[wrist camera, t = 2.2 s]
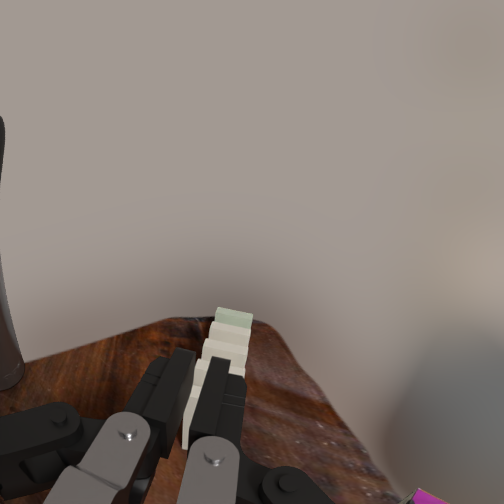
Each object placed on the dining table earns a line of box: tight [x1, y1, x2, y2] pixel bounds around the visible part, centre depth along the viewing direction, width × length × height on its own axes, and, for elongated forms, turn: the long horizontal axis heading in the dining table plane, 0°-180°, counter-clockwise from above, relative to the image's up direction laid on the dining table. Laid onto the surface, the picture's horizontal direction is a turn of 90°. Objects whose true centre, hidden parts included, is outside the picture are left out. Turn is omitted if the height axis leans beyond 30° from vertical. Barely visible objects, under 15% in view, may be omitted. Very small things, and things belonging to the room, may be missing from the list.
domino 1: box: [182, 385, 202, 450], centre depth 24 cm, size 5×2×10 cm, turn 86°
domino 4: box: [201, 338, 248, 368], centre depth 32 cm, size 5×2×10 cm, turn 86°
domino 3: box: [209, 321, 251, 347], centre depth 36 cm, size 5×2×10 cm, turn 86°
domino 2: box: [214, 307, 253, 329], centre depth 40 cm, size 5×2×10 cm, turn 86°
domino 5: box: [193, 359, 245, 387], centre depth 28 cm, size 5×2×10 cm, turn 86°
